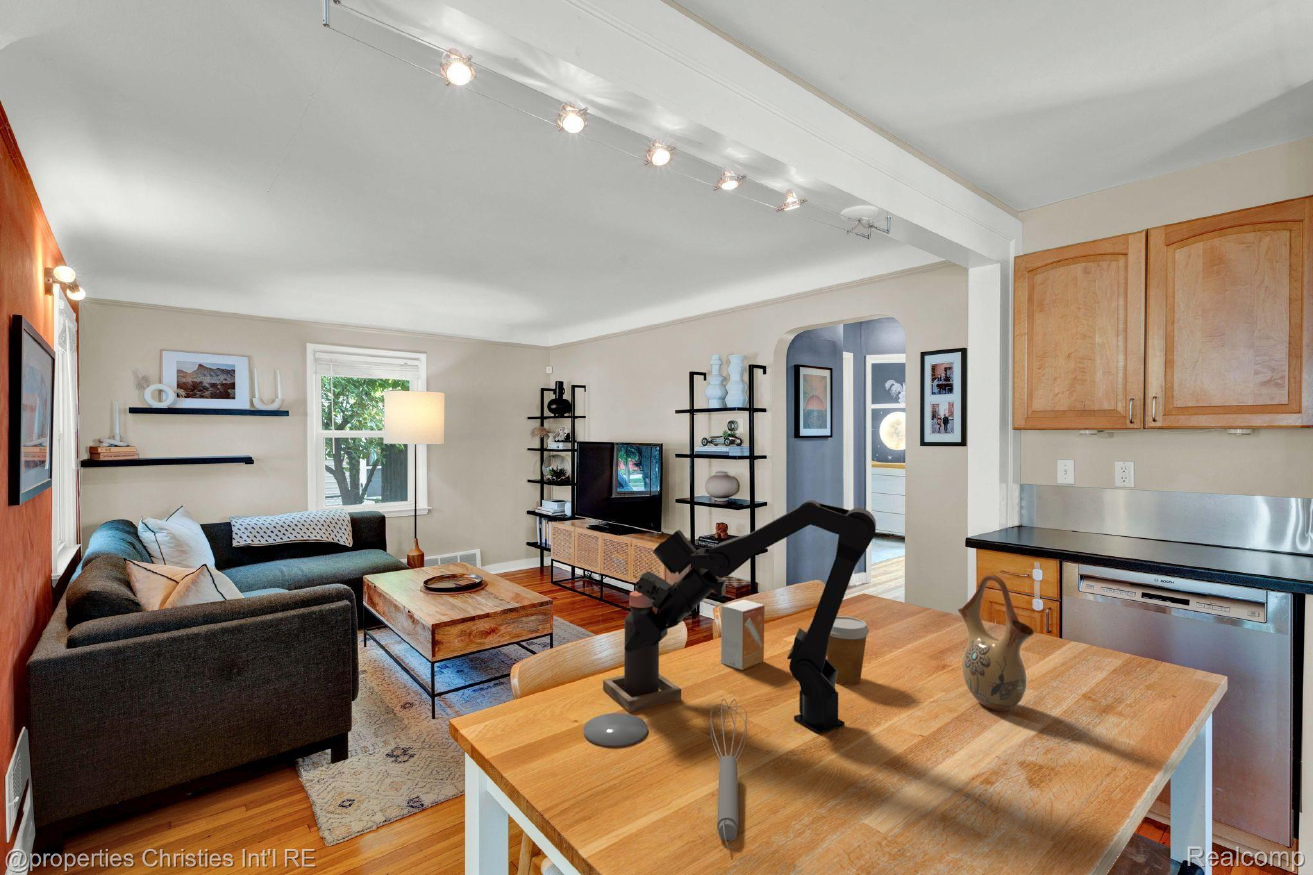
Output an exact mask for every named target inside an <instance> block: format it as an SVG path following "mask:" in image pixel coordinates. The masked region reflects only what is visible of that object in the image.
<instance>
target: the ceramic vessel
mask: <svg viewBox="0 0 1313 875" xmlns="http://www.w3.org/2000/svg"><path fill="white" fill-rule="evenodd" d="M989 581H992V582H995V583H996V584H997V585H998V586H999V589H1000V591H1001V594H1002V598H1003V602H1004V608H1005V609H1004V610H1005V618H1006V621H1005V623H1006V624H1005V632H1004V635H1003V637H1002V638H1001V639H998V638H995V637H993V636H992V635H991V634H989V632H988V631H987V630H986V627H985V626H984V623H983V621H982V618H981V608H982V602H983V598H984V593H985V590H986V587H987V584H988V583H989ZM957 611H958V613H959V614H960V616H961V617H962V619H963V621H964V623H965V624H966V628H967V631H968V632H967V633H968V643H967V645H966V648H965V649H964V653H963V655H962V661H961V662H962V664H961V666H962V676H963V679H964V681H965V684H966V688H968V690H969V692H970V693H971V695H972V696H973V698H974V699H975V700H976V701H977V702H978V703H979V704H980V705H982V706H983V707H985V708H987V709H990V710H993V711H996V712H1006V711H1009V710H1011V709H1014V708H1015V707H1016V706H1017V705H1018V704H1019V703H1020V702H1021V700H1022V699H1023V697H1024V695H1025V693H1026V688H1027V673H1026V668H1025V665H1024V662H1023V660H1022V657H1021V654H1020V652H1021V648H1022V645H1023V644H1024V642H1025V641H1026V640H1028V639H1029V638H1031V637H1032V636H1033V635H1034V633H1035V631H1034V629H1033V628H1032V627H1031V626H1029V625H1028V624H1026V623H1025V622H1021V621H1020V620H1019V618H1018V615H1017V614H1016V611H1015V609H1014V606H1013V603H1012V599H1011V596H1010V592H1009V589H1008V587H1007V584H1006V583H1005V581H1004V580H1003V579H1002V578H1001V577H999V576H998V575H996V574H987V575H985V576H984V577H983V578H982V579H981V580H980V583H979V585H978V587H977V589H976V591H975V592H974V594H973V595H972V597H971V598H970V599H969V601H967V602H966V603H965V604H964V606H962V607H959V608H958V609H957Z"/></svg>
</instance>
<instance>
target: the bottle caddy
mask: <svg viewBox="0 0 1313 875" xmlns="http://www.w3.org/2000/svg"><path fill="white" fill-rule="evenodd" d="M602 690H603V692H605V693H606V694H607V695H608V696H610V697H611V698H612V699H613V700H614V701H615V702H617V703H618V704H619V705H620V706H621V707H622V708H623V709H625V710H626V711H627V712H628V713H631V712H634V711H635V712H636V711H639V710H643V709H648V708H651V707H654V706H659V705H663V704H667V703H668V704H669V703H671V702H676V701H680V700H682V688H680V687H679V686H678V685H676V684H675V683H673V682H672V681H670V680H669V679H667V677H665V676H663V675H662V674H660V673H659V691H658V692H653V693H649V694H645V695H641V696H636V697H630V696H629V695H628V694H627V693H626V692H624V675H621V676H615V677H610V678H606V679H603V680H602Z"/></svg>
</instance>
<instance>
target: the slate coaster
mask: <svg viewBox="0 0 1313 875" xmlns="http://www.w3.org/2000/svg"><path fill="white" fill-rule="evenodd" d="M647 734H648V724H647V722H646V721H645V720H644V719H643V718H641V717H639V716H637V715H634V714H630V713H624V712H612V713H611V712H610V713H605V714H600V715H596V716H595V717H594V716H593V718H591V719H589V720H587V721H586V723H585V724H584V727H583V736H584V738H586V740H588V741H589V742H590V743H592V744H595V745H597V746H601V747H607V748H619V747H627V746H630V745H634V744H636V743H638V742H641V741H642V740H643V739H644V738H645V737H646V736H647Z"/></svg>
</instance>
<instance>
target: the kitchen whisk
mask: <svg viewBox="0 0 1313 875" xmlns="http://www.w3.org/2000/svg"><path fill="white" fill-rule="evenodd" d="M723 701H724V702H725V704H726V705H724V704H723ZM734 701H735V705H733V706H731V705H732V704H733V702H734ZM716 706H720V711H719V712H718V713H717V714H715V715H714V717H713V718H710V729H711V730H712V732H710V737H711V741H712V744H713V747H714V750H715V753H716V754H717V757H718V758H719V764H718V790H717V791H718V793H717V794H718V796H717V821H716V822H717V823H716V824H717V825H716V826H717V827H716V828H717V829H716V830H717V831H718V835H719V838H720V839H722V840H723V841H725V844H726V846H727V848H728V849H729V850H730V849H732V846H731V847H730V845H729V844H728V841H727V840H731V841H734V840H735V839H736V838H737V833H738V831H739V810H738V809H739V807H738V806H739V802H738V801H739V795H738V792H739V791H738V789H739V788H738V787H739V786H738V760H739V758H740V756H741V754H742V752H743V750H744V748H745V744H746V741H747V736H748V726H747V723H748V713H747V711H746V709H745V707H744V706H741V705H738V704H737V699H735V698H733V700H732V701H731V702H730V703H729V705H728V703H727V700H726V699H724V698H722V699H721V703H720V704H715V705H713V706H712V707H711V710H710V715H712V712H713V709H714V708H715V707H716ZM723 707H725V708H724V709H723ZM738 707H739V708H742V709H743V710H744V712H745V716H746V719H744V717H743V716H742V715H741V713H739V712H738V711H737V710H738V709H737V708H738ZM734 708H735V709H734ZM726 710H727V711H726ZM731 710H732V711H734V712H735V713H736V714H735V718H733V714H732V712H731ZM724 711H726V714H725V716H724V719H723V712H724ZM728 712H729V713H730V716H731V719H732V723H733V727H734V728H733V736H732V742H731V749H730V755H727V750H726V748H727V747H726V742H725V732H724V724H725V721H726V717H727V714H728ZM720 713H721V731H722V732H720V733H721V734H720V736H722V737H723V745H724V752H723V751H721V750H720V747H719V744H718V741H717V738H716V734H715V732H714V730H715V729H714V726H713V723H714V720H715V718H716V717H717V716H718V715H719V714H720ZM737 715H739V716H740V717H741V719H742V720H743V722H744V725H745V726H744V731H743V734H742V737H741V739H740V742H739V746H738V748H737V750H736V749H735V750H734V754H733V756H732V753H733V747H734V740H735V737H737V731H736V720H737ZM712 733H713V734H712ZM713 736H714V739H713ZM744 736H745V740H744V743H743V739H744ZM714 740H715V743H716V745H715V743H714ZM742 743H743V746H742V748H741V745H742ZM716 746H717V748H718V751H717V748H716ZM740 748H741V750H740ZM739 750H740V752H739ZM718 752H719V753H718ZM724 754H725V755H724ZM738 754H739V755H738ZM737 755H738V757H737ZM736 757H737V758H736ZM731 841H730V842H731Z"/></svg>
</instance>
